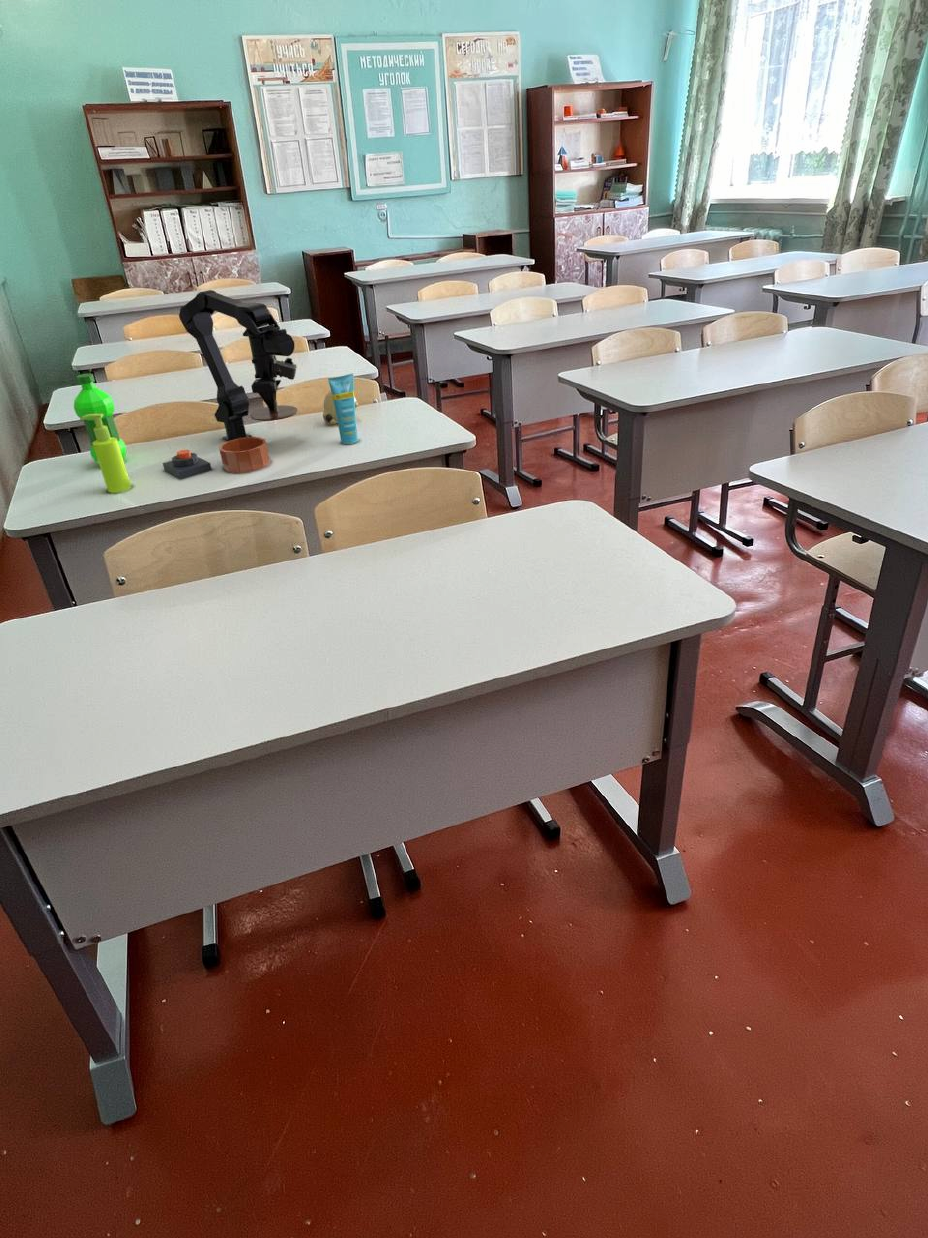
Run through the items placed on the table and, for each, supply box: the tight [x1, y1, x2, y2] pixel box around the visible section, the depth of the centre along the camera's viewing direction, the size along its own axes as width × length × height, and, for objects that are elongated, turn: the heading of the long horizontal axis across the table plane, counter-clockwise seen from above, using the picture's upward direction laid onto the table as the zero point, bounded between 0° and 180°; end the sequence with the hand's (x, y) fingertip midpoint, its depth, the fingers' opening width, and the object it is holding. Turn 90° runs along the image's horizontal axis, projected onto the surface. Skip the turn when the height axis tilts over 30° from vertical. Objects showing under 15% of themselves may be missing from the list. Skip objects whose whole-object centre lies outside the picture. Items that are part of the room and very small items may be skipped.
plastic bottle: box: [73, 373, 127, 464], centre depth 214 cm, size 10×10×25 cm
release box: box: [162, 452, 213, 480], centre depth 209 cm, size 11×9×4 cm
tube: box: [327, 373, 359, 445], centre depth 218 cm, size 7×5×19 cm, turn 123°
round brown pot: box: [219, 436, 271, 474], centre depth 209 cm, size 12×12×6 cm
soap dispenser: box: [79, 414, 132, 494], centre depth 196 cm, size 6×7×20 cm
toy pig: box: [322, 389, 359, 426], centre depth 238 cm, size 10×12×11 cm
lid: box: [250, 398, 299, 422], centre depth 217 cm, size 13×13×4 cm
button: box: [176, 449, 192, 459], centre depth 208 cm, size 4×4×2 cm
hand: (273, 409), depth 218 cm, fingers closed on lid, 3 cm apart
